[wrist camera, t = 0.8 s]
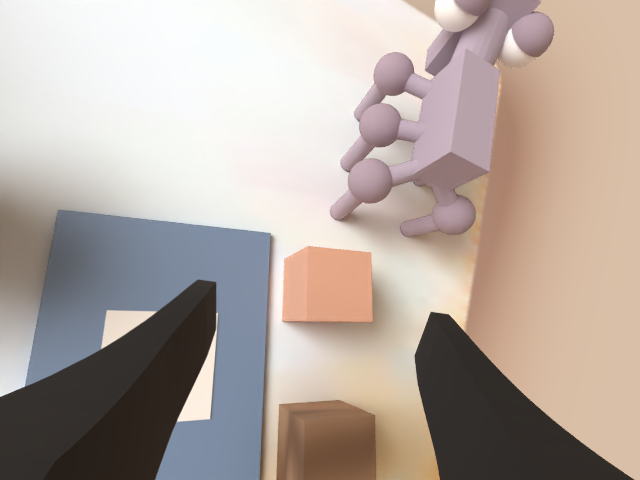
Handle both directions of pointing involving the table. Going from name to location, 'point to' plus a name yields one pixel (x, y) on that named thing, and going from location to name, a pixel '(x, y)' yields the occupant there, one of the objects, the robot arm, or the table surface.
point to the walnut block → (325, 442)
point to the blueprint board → (149, 297)
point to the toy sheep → (443, 109)
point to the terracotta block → (327, 286)
